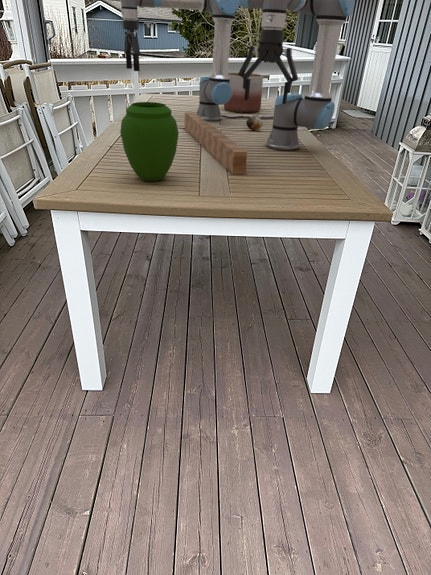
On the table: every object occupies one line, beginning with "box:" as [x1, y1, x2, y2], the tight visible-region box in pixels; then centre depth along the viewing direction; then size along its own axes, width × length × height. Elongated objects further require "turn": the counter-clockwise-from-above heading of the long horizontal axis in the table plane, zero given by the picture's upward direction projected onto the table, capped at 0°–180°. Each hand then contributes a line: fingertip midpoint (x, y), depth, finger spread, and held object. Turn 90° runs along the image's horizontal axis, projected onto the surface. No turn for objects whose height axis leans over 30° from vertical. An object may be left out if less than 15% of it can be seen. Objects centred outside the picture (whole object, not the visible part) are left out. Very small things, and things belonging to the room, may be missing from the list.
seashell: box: [245, 114, 264, 131], centre depth 224 cm, size 10×6×8 cm, turn 97°
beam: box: [184, 111, 248, 175], centre depth 187 cm, size 84×5×8 cm, turn 16°
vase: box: [119, 101, 179, 182], centre depth 140 cm, size 20×20×24 cm
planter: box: [223, 72, 264, 114], centre depth 276 cm, size 25×25×22 cm
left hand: (132, 69), depth 208 cm, fingers open, 13 cm apart
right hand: (265, 101), depth 142 cm, fingers open, 13 cm apart
